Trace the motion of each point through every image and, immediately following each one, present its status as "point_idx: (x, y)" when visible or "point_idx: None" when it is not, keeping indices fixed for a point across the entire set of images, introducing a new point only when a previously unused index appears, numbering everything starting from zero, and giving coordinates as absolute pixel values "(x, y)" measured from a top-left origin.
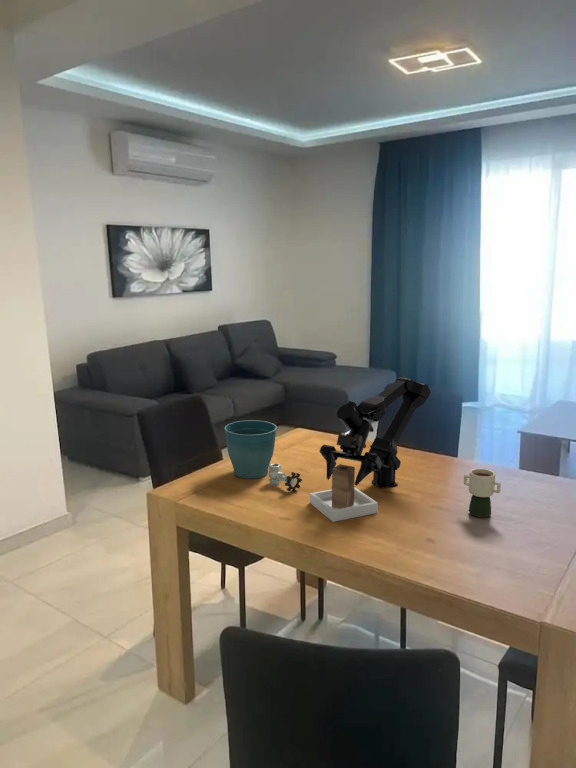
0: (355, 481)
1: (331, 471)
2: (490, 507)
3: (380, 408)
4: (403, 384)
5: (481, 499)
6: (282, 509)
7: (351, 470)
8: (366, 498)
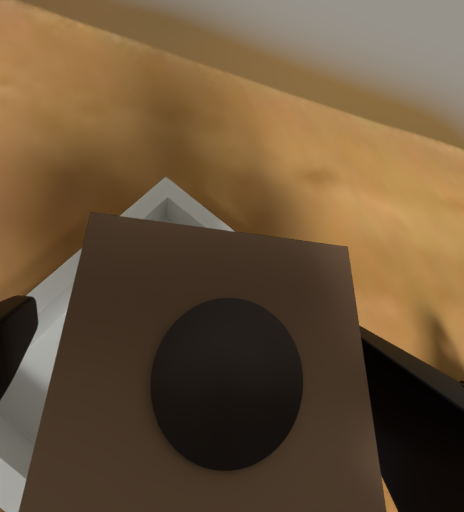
0: (14, 307)
1: (379, 419)
2: None
3: None
4: None
5: None
6: (368, 234)
7: (56, 386)
8: (16, 465)
